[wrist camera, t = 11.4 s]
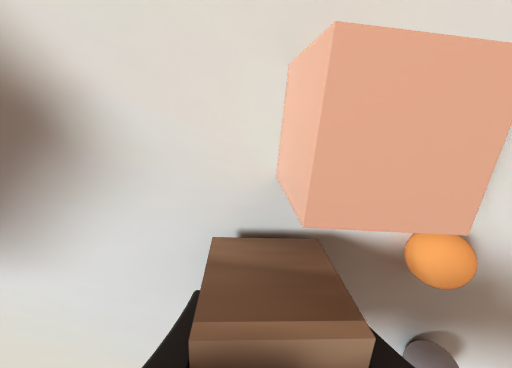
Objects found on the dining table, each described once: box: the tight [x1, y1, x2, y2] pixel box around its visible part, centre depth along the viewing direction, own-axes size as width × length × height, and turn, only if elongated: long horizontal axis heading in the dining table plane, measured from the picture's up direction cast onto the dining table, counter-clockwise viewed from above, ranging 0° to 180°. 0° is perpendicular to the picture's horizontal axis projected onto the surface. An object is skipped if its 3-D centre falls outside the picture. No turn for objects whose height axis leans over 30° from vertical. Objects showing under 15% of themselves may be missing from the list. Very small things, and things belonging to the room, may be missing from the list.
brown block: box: [189, 237, 376, 368], centre depth 10 cm, size 5×5×6 cm
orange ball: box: [404, 233, 477, 289], centre depth 12 cm, size 3×3×3 cm
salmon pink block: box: [276, 21, 512, 236], centre depth 9 cm, size 5×5×6 cm
